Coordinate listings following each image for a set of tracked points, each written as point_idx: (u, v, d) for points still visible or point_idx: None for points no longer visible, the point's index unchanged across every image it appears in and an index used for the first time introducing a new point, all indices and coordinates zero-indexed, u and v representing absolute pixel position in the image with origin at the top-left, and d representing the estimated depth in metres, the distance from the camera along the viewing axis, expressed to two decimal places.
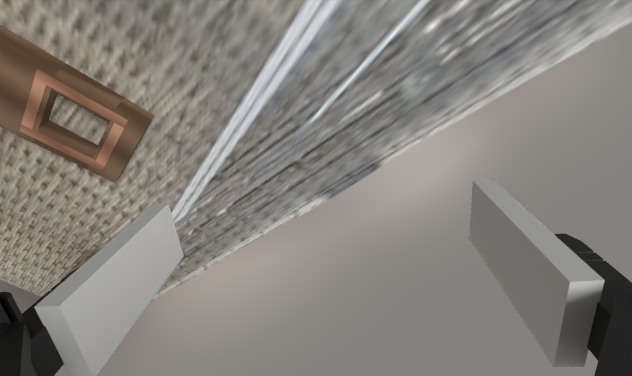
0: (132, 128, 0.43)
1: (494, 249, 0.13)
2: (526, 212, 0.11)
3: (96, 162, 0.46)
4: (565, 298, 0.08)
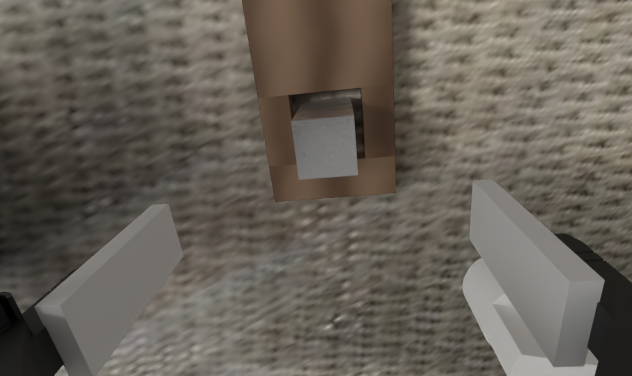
0: None
1: (494, 249, 0.13)
2: (526, 212, 0.11)
3: None
4: (565, 298, 0.08)
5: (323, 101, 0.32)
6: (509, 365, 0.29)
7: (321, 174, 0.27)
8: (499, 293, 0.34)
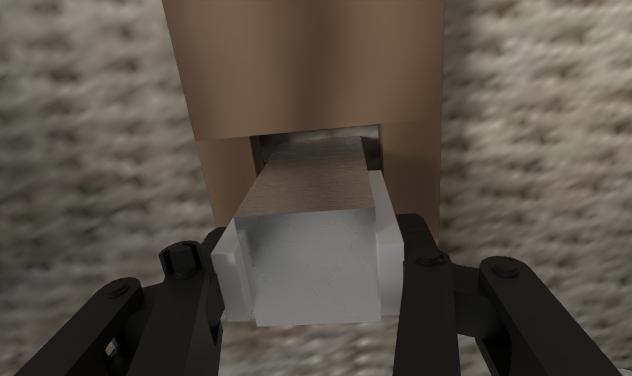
0: None
1: None
2: (386, 195, 0.14)
3: None
4: (378, 258, 0.11)
5: (313, 145, 0.18)
6: None
7: (303, 318, 0.13)
8: None
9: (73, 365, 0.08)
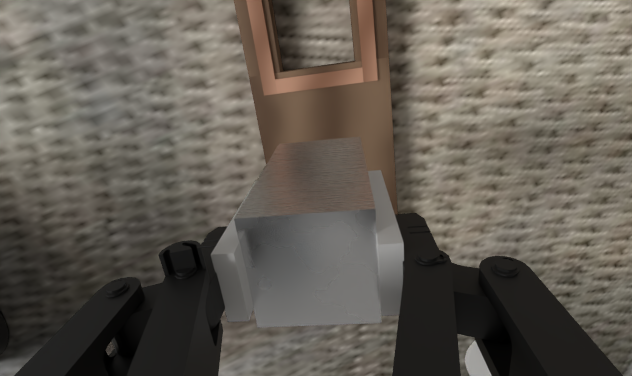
0: None
1: None
2: (386, 195, 0.14)
3: None
4: (378, 258, 0.11)
5: (313, 146, 0.18)
6: None
7: (304, 319, 0.13)
8: None
9: (73, 365, 0.08)
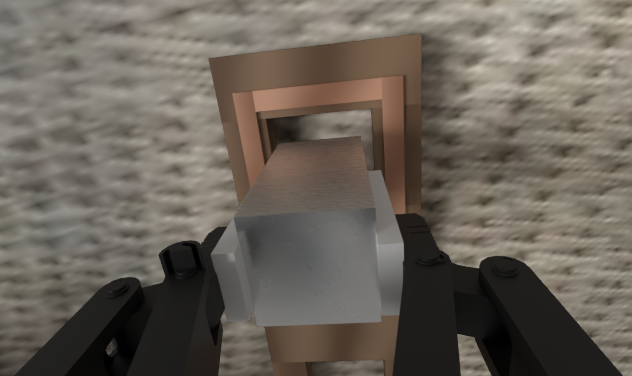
0: (243, 78, 0.21)
1: None
2: (386, 195, 0.14)
3: (383, 95, 0.20)
4: (378, 258, 0.11)
5: (313, 145, 0.18)
6: None
7: (304, 318, 0.13)
8: None
9: (73, 365, 0.08)
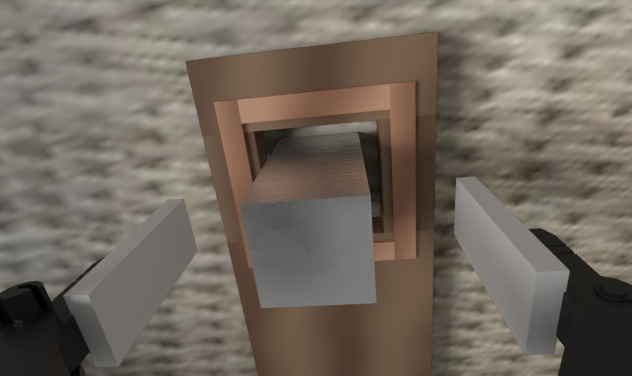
0: (226, 84, 0.18)
1: (474, 244, 0.13)
2: (504, 208, 0.12)
3: (391, 105, 0.17)
4: (533, 288, 0.09)
5: (313, 140, 0.19)
6: None
7: (304, 300, 0.14)
8: None
9: None
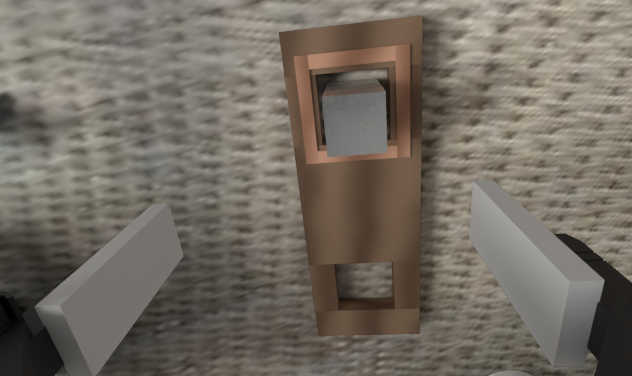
0: (301, 46, 0.31)
1: (494, 249, 0.13)
2: (526, 212, 0.11)
3: (396, 58, 0.30)
4: (565, 298, 0.08)
5: (349, 82, 0.32)
6: None
7: (350, 151, 0.27)
8: None
9: None
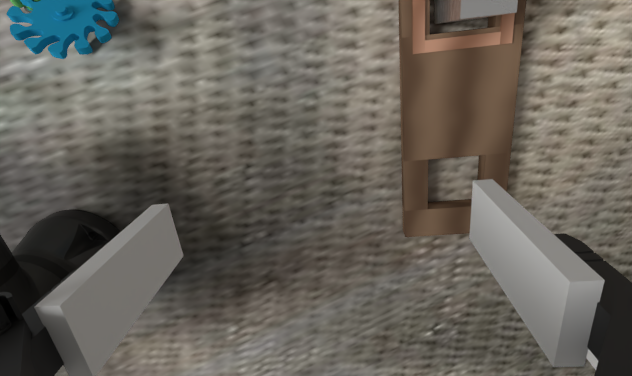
0: None
1: (494, 249, 0.13)
2: (526, 212, 0.11)
3: None
4: (565, 298, 0.08)
5: None
6: None
7: (482, 12, 0.29)
8: None
9: None
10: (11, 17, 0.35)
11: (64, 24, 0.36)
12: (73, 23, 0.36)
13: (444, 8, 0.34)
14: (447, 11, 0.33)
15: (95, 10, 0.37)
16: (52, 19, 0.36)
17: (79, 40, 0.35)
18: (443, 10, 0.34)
